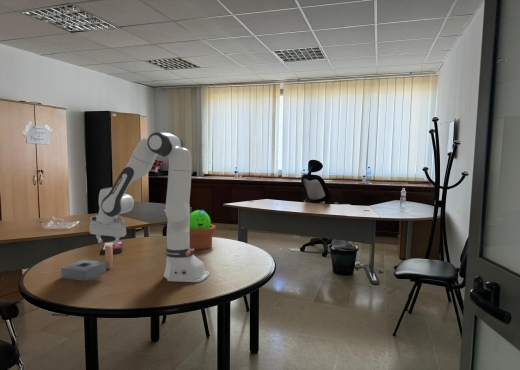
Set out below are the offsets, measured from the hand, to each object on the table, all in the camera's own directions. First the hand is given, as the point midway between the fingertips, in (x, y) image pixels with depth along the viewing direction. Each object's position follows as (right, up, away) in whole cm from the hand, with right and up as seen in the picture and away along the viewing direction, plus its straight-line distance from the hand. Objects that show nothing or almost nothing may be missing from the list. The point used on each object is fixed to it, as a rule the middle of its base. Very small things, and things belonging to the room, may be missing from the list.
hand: (107, 243), depth 179 cm
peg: (0, -13, +1) cm, 13 cm away
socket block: (-8, -14, -9) cm, 18 cm away
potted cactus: (+40, -10, +47) cm, 63 cm away
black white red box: (-12, -11, +35) cm, 38 cm away
